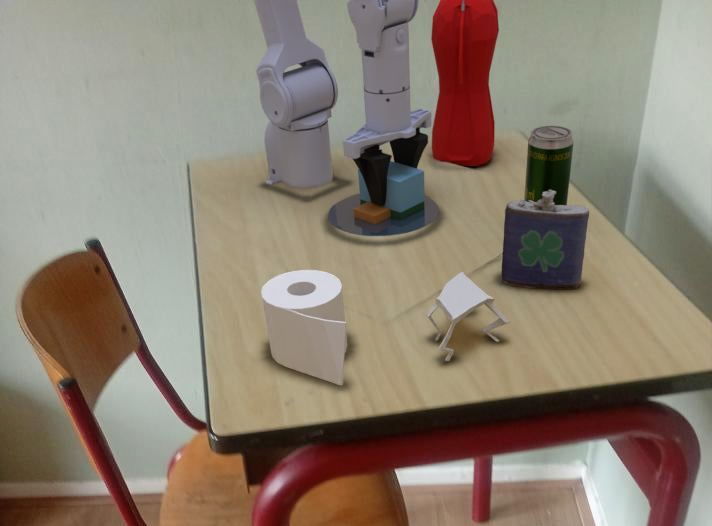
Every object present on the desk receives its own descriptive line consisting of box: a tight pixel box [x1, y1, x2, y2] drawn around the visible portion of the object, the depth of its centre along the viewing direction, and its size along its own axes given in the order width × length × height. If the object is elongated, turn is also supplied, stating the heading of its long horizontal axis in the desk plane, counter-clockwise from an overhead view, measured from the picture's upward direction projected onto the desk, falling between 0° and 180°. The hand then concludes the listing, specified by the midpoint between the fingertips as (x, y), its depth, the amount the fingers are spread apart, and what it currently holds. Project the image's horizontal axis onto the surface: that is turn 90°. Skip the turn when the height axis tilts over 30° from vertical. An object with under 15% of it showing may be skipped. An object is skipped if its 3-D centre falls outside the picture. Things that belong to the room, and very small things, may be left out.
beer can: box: [523, 125, 575, 206], centre depth 100 cm, size 5×5×12 cm
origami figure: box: [426, 271, 511, 362], centre depth 85 cm, size 12×8×5 cm
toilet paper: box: [260, 269, 348, 387], centre depth 83 cm, size 8×11×7 cm
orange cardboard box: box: [354, 201, 391, 225], centre depth 107 cm, size 4×3×1 cm
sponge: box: [357, 160, 425, 220], centre depth 107 cm, size 8×5×5 cm, turn 47°
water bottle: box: [430, 0, 500, 167], centre depth 115 cm, size 9×11×25 cm
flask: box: [501, 190, 590, 290], centre depth 90 cm, size 9×3×11 cm, turn 74°
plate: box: [327, 193, 440, 237], centre depth 109 cm, size 15×15×1 cm
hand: (391, 197), depth 108 cm, fingers closed on sponge, 5 cm apart
